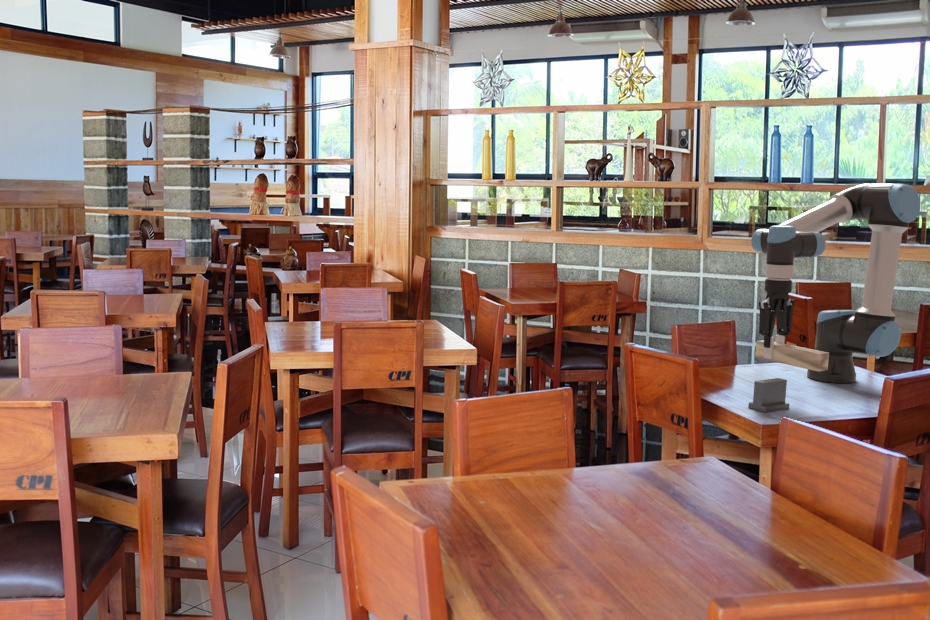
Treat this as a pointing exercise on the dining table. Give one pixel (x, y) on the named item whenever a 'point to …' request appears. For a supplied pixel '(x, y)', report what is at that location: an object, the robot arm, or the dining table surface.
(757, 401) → the gray pedestal stand
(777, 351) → the ash bar
